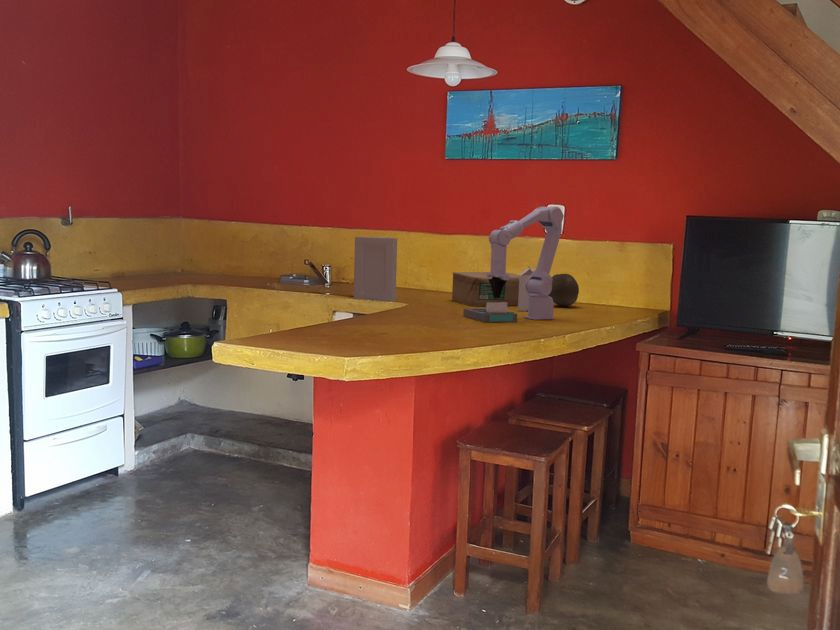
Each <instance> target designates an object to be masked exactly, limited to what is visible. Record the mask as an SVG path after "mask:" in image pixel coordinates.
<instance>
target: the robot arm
mask: <svg viewBox="0 0 840 630" xmlns="http://www.w3.org/2000/svg"><path fill="white" fill-rule="evenodd" d="M564 217H565V215H564V213H563V211H562V209H561V208H560V207H559V206H544V205H543V206H542V205H541V206H539V207H537V208H535V209H534V210H533V211H531V212H530V213H528V214H527V215H525V216H524V217H523V218H521V219H520V220H515V219H514V220H513V219H512V220H511V219H510V221H508V222H509V223H507V224H506V225H504V226H500V228H499V229H494V230H492V231H491V233H490V234H489V236H488V242H489V243H490V250H491V252H490V253H491V254H490V271H486V272H487V277H492V279H489V282H490V284H491V287H492V291H493V297H494V298H500V296H501V292H502V289H503V287H504V285H505V283H506V281H507V280H509V275H507V274H505V273H507V271H506V267H507V252H508V251H507V246H508V245H509V244H510V242H511V240H513V239H514V238H516V237H518V236H519V235H521V234H522V233H523V231H524V229H526V228H527V227H530V226H531V225H533V224H535V223H538V224H539V225H541V226H542V227H543V229H545V231H546V234H545V237H544V241H543V244H542V247H541V250H540V254H539V258H538V261H537V264H536V268H535V269H534V270H535V271H534V272H533V273H532V274H531V275H530V278H529V279H528V280H527V282H526V285H525V288H526V291H527V292H528V295H529V304H528V311H527V315H524V316H523V318H525V319H530V320H537V321H538V320H554V319H555V318H554V304H555V303H554V302H553V299H552V297H550V296H549V294H550V293H551V290H552V280H553V279H552V277H553V276H551V274H550V272H551V269H552V266H553V263H554V260H555V255H556V254H557V253H556V252H557V249H558V246H559V242H560V239H561V235H562V233H563V232H562V231H563V230H562V228H563V227H562V226H563V225H562V224H563V220H564ZM495 276H498V277H495Z"/></svg>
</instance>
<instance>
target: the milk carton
mask: <svg viewBox="0 0 840 630" xmlns="http://www.w3.org/2000/svg"><path fill="white" fill-rule="evenodd" d="M535 270H536V269H534V268H532V269H531V266H530V265H527V268H526V269H525V270H523V271H522V272H521V273H519V274H518V275H519V296H518V306H517V310H518V311H519V312H520V311H521V312H528V304H529V295H528V292H527V291H526V288H525V285H526V282H527V280H528V279H529V278H530V275H531V274H532V273H533V272H534V271H535Z"/></svg>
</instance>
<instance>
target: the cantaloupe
mask: <svg viewBox="0 0 840 630" xmlns="http://www.w3.org/2000/svg"><path fill="white" fill-rule="evenodd" d="M551 277H552V279H553V280H552V290H551V293H550V294H549V296H550V297H552V299H553V302H554V304H555V305H556V306H558V307H562V308H568V307H569V306H572V305H574V304H575V303H576V302H577V300H578V297H579V293H580V287H579V284H578V282H577V280H576V278H575V277H573V276H572V274H569V273H557V274H556V273H555V274H554V275H553V276H551Z"/></svg>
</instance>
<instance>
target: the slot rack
mask: <svg viewBox="0 0 840 630" xmlns="http://www.w3.org/2000/svg"><path fill="white" fill-rule="evenodd" d="M462 316H463V317H465V318H468V319H472V320H475V321H478V322H482V323H515V322H516V323H517V322H518V313H516V312H514V311H510V310H507V313H488V314H486V307H474V308H463V312H462Z"/></svg>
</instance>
